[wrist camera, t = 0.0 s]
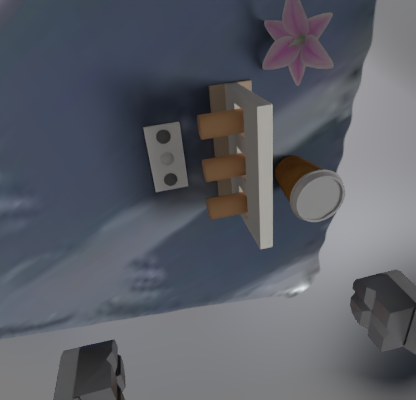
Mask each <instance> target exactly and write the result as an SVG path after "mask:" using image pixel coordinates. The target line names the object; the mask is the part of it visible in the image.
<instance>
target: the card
mask: <svg viewBox="0 0 416 400" xmlns="http://www.w3.org/2000/svg"><path fill="white" fill-rule="evenodd" d="M143 130H144V135H145V140H146V145H147V150H148V155H149V160H150V165H151V170H152V175H153V181H154V186H155V191H156V192H160V191H166V190H171V189H176V188H182V187H187V186H188V179H187V172H186V165H185V158H184V151H183V144H182V137H181V130H180V123H179V122H172V123H166V124H160V125H154V126H147V127H143Z"/></svg>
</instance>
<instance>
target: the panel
mask: <svg viewBox="0 0 416 400" xmlns="http://www.w3.org/2000/svg"><path fill="white" fill-rule="evenodd" d="M208 87H209V98H210V109H211V113H213V112H219V111H225V110H232V109H238V108H241V109H243V118H244V133H240V134H234V135H228V136H222V137H216V138H213V141H214V152H215V157H220V156H226V155H231V154H237V153H243V154H244V156H245V163H246V175H244V176H238V177H233V178H228V179H222V180H217V184H218V195H219V196H223V195H228V194H233V193H238V192H244V193H245V195H246V196H247V208H248V212H247V213H242V214H240V215H241V217H242V219H243V221H244V222H245V224H246V226H247V227H248V229H249V231H250V232H251V234H252V236H253V237H254V239H255V241H256V243H257V244H258V246H259V248H260V249H264V248H269V247H273V104H271V103H270V102H268V101H266V100H265V99H263V98H261V97H260V96H258V95H256V94H255V93H253V92H252V82H251V80H244V81H237V82H230V83H223V84H217V85H210V86H208Z"/></svg>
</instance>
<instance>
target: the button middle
mask: <svg viewBox="0 0 416 400" xmlns="http://www.w3.org/2000/svg"><path fill="white" fill-rule="evenodd" d="M202 169H203V174H204V178H205V181H206V182H212V181H217V180H222V179H228V178H233V177H238V176H244V175H246V163H245V156H244V154H243V153H237V154H231V155H226V156H220V157H214V158H209V159H203V160H202Z"/></svg>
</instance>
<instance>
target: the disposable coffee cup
mask: <svg viewBox="0 0 416 400" xmlns="http://www.w3.org/2000/svg"><path fill="white" fill-rule="evenodd" d="M275 178H276V180H277V182H278V183H279V185H280V187H281V189H282V190H283V192H284V194H285V195H286V197H287V199H288V200H289V202H290V205H291V209H292V211H293V213H294V214H295V215H296V216H297V217H298V218H300V219H302V220H306V221H309V222H319V221H322V220H325V219H327V218H329V217H331V216H332V215H333V214H334V213H336V211H337V210H338V209H339V208H340V206H341V205H342V203H343V200H344V197H345V189H344V185H343V182H342V180H341V178H340V177H339V175H338V174H336V173H335V172H333V171H330V170H324V169H322V168H320V167H318V166H316V165H314V164H312V163H310V162H308V161H306V160H304V159H302V158H300V157H298V156H288V157H286V158H284V159H283V160H281V161H280V162H279V163H278V165H277V167H276V169H275Z"/></svg>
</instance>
